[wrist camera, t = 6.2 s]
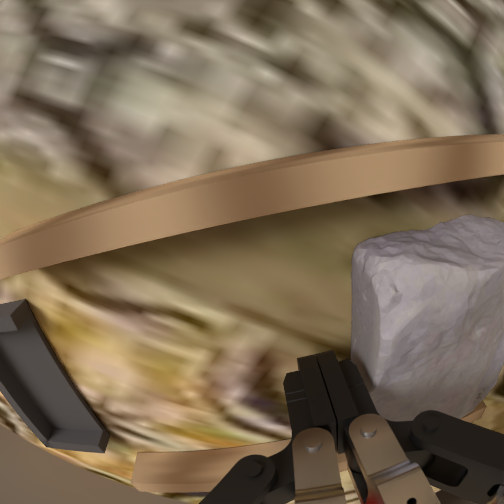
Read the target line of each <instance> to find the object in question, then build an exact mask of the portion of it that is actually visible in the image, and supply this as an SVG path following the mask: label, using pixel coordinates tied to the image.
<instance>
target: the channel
mask: <svg viewBox="0 0 504 504" xmlns="http://www.w3.org/2000/svg"><path fill="white" fill-rule="evenodd" d="M502 174H504V135H501V134H486V135H464V136H448V137H435V138H423V139H412V140H402V141H393V142H384V143H376V144H368V145H360V146H353V147H346V148H339V149H332V150H325V151H319V152H313V153H307V154H301V155H295V156H290V157H284V158H279V159H273V160H268V161H263V162H258V163H253V164H248V165H243V166H239V167H234V168H229V169H225V170H220V171H216V172H211V173H207V174H203V175H199V176H194V177H190V178H186V179H182V180H178V181H174V182H170V183H167V184H163V185H159V186H155V187H151V188H148V189H144V190H140V191H137V192H133V193H130V194H126V195H123V196H119V197H116V198H113V199H109V200H106V201H103V202H99V203H96V204H93V205H90V206H87V207H84V208H80V209H77V210H74V211H71V212H68V213H65V214H62V215H59V216H56V217H54V218H51V219H48V220H45V221H42V222H39V223H37V224H34V225H31V226H28V227H26V228H23V229H20V230H18V231H15V232H13V233H11V234H9V235H8V236H6V237H5V238H3V239H1V240H0V279H3V278H6V277H10V276H14V275H17V274H21V273H24V272H28V271H32V270H36V269H39V268H43V267H47V266H51V265H54V264H58V263H62V262H66V261H70V260H74V259H78V258H82V257H86V256H90V255H93V254H98V253H102V252H106V251H110V250H114V249H118V248H122V247H126V246H130V245H134V244H139V243H143V242H147V241H151V240H156V239H160V238H164V237H169V236H173V235H177V234H182V233H186V232H191V231H195V230H200V229H204V228H209V227H213V226H218V225H223V224H227V223H232V222H237V221H241V220H246V219H251V218H256V217H261V216H265V215H270V214H275V213H280V212H285V211H290V210H295V209H300V208H305V207H311V206H316V205H321V204H326V203H332V202H337V201H342V200H348V199H353V198H359V197H364V196H370V195H375V194H381V193H387V192H393V191H398V190H404V189H410V188H416V187H422V186H428V185H435V184H441V183H447V182H454V181H460V180H467V179H474V178H481V177H488V176H495V175H502ZM485 408H486V405H485V403H484V402H483V401H481V402H479V404H478V405H477V406H476V407H475V409H474V410H473V411H471V412H470V413H468V414H467V415H465V416H463V417H462V418H461V420H464V421H466V422H469V423H472V422H474V421H476V420H477V419H479V418H481V417H482V415H483V413H484V410H485ZM290 441H291V439H287V440H282V441H276V442H270V443H264V444H257V445H250V446H242V447H234V448H225V449H215V450H203V451H187V452H159V453H137V456H136V461H135V465H134V470H133V475H132V480H131V484H132V485H133V486H135V487H136V488H137V489H138V490H139V491H145V492H211V490H212V489H213V488H214V487H215V486H216V485H217V484H218V483H219V482H220V481H221V480H222V479H223V477H224V476H225V475H226V474H227V473H228V472H229V471H230V470H231V468H232V467H233V466H234V465H235V464H236V463H237V462H238V461H239V460H240V459H242V458H243V457H246V456H248V455H254V454H258V455H263V456H266V457H269V456H272V455H274V454H276V453H278V452H280V451H282V450H283V449H284V448H285V447H286V446H287V445H288V444H289V443H290ZM337 461H338V467H339V472H342V471H346V470H348V469H347V459H346V455H345V453H342V454H338V452H337Z"/></svg>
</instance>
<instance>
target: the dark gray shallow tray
mask: <svg viewBox="0 0 504 504" xmlns="http://www.w3.org/2000/svg"><path fill="white" fill-rule="evenodd" d="M0 391H1V393H2V394H3V395H4V397H5V398H6V400H7V401H8V402H9V404H10V405H11V406H12V407H13V409H14V410H15V411H16V412H17V414H18V415H19V416H20V417H21V419H22V420H23V421H24V422H25V424H26V425H27V426H28V427H29V428H30V429H31V431H32V432H33V433H34V434H35V435H36V436H37V437H38V439H39V440H40V441H41V442H42V443H43V444H44V445H45V446H46V447H50V448H57V449H64V450H73V451H83V452H94V453H105V450H106V447H107V444H108V440H109V437H110V434H109V433H108V432H107V430H106V429H105V428H104V427H103V425H102V424H101V423H100V421H99V420H98V419H97V417H96V416H95V415H94V413H93V412H92V411H91V409H90V408H89V406H88V405H87V404H86V402H85V401H84V399H83V398H82V396H81V395H80V394H79V392H78V391H77V389H76V388H75V386H74V385H73V383H72V382H71V380H70V378H69V377H68V375H67V374H66V372H65V371H64V369H63V367H62V366H61V364H60V362H59V361H58V359H57V357H56V356H55V354H54V352H53V351H52V349H51V347H50V345H49V344H48V342H47V340H46V338H45V336H44V335H43V333H42V331H41V329H40V327H39V325H38V323H37V321H36V319H35V318H34V316H33V314H32V312H31V310H30V307H29V305H28V303H27V301H26V299H24V300H19V301H14V302H9V303H4V304H0Z"/></svg>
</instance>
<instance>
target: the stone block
mask: <svg viewBox="0 0 504 504" xmlns="http://www.w3.org/2000/svg"><path fill="white" fill-rule="evenodd" d="M351 278H352V333H351V362H352V363H354V364H355V365H356V366H357V368H358V370H359V372H360V374H361V377H362V379H363V381H364V384H365V385H366V388H367V390H368V392H369V394H370V396H371V399H372V401H373V403H374V405H375V408H376V410H377V412H378V413H379V414H380V415H381V416H382V417H383V418H385V419H387V420H390V421H413V420H414V418H415V417H416V416H417V415H418V414H420V413H421V412H424V411H427V410H436V411H439V412H442V413H445V414H447V415H450V416H453V417H455V418H458V419H461V418H462V417H463V416H465V415H467V414H468V413H470V412H471V411H473V410H474V409H475V407H476V406H477V405H478V404H479V402H481V401H482V400H484V399H485V397H486V396H487V395H488V393H489V392H490V391H491V390H492V388H493V387H494V386H495V384H496V382H497V380H498V377H499V373H500V371H501V368H502V366H503V365H504V223H503V222H500V221H497V220H495V219H492V218H489V217H486V218H482V217H476V216H474V215H463V216H461V217H460V218H455V219H453V220H450V221H447V222H440V223H438V224H437V225H435V226H433V227H432V228H430V229H427V230H420V231H418V230H410V231H400V232H394V233H390V234H386V235H382V236H379V237H375V238H369V239H367V240H365V241H363V242H361V243H359V244H358V245H357V246H356V247H355V249H354V253H353V256H352V273H351Z"/></svg>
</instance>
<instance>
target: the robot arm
mask: <svg viewBox="0 0 504 504" xmlns="http://www.w3.org/2000/svg"><path fill="white" fill-rule="evenodd" d="M297 363H298V370H299V371H295V372H290V373H287V374H286V377H285V379H284V382H283V385H284V390H285V396H286V401H287V407H288V412H289V418H290V423H291V429H292V438H291V441H290V443H289V444H288V445H287V446H286V447H285V448H284V449H283V450H282V451H280V452H278V453H276V454H274V455H272V456H269V457H266V456H263V455H258V454H254V455H248V456H246V457H243V458H242V459H240V460H239V461H238V462H237V463H236V464H235V465H234V466H233V467H232V468H231V470H230V471H229V472H228V473H227V474H226V475H225V476H224V477H223V479H222V480H221V481H220V482H219V483H218V484H217V485H216V486H215V487H214V488H213V489H212V490H211V492H210V493H209V494H208V495H207V496H206V497H205V498H204V499H203V500H202V501H201V502H200V503H199V504H286V503H288V502H290V501H292V500H294V499H295V504H346V499H345V493H344V489H343V488H342V484H341V479H340V473H339V467H338V461H337V452H338V454H342V453H345V455H346V459H347V469H348V472H349V475H350V477H351V480H352V482H353V485H354V487H355V490H356V492H357V495H358V497H359V500H360V503H361V504H440V502H439V500H438V498H437V496H436V495H435V493H434V491H433V489H432V487H431V485H432V486H434V487H436V488H439V489H441V490H444V491H446V492H449V493H451V494H454V495H456V496H459V497H462V498H464V499H467V500H469V501H472V502H475V503H478V504H504V434H501V433H498V432H495V431H492V430H489V429H486V428H484V427H481V426H478V425H475V424H472V423H469V422H466V421H464V420H461V419H458V418H455V417H453V416H450V415H447V414H445V413H442V412H439V411H436V410H427V411H424V412H421V413H420V414H418V415H417V416H416V417H415V418H414V420H413V421H390V420H387V419H385V418H383V417H382V416H381V415H380V414H379V413H378V412H377V410H376V408H375V405H374V403H373V401H372V399H371V396H370V394H369V392H368V390H367V388H366V385H365V384H364V381H363V379H362V377H361V374H360V372H359V370H358V368H357V366H356V365H355V364H354V363H352V362H351V361H350V360H349V359H346V360H342V361H338V360H337V358H336V355H335V353H334V351H333V350H331V351H327V352H323V353H318V354H315V355H310V356H305V357H301V358H297Z"/></svg>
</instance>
